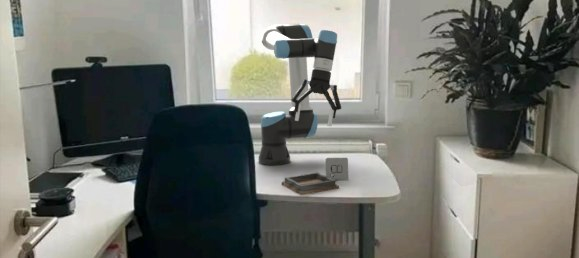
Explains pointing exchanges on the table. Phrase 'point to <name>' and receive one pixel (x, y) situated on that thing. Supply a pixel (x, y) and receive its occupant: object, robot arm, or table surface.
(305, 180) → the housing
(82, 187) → the table surface
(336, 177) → the electrical switch
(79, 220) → the table surface
